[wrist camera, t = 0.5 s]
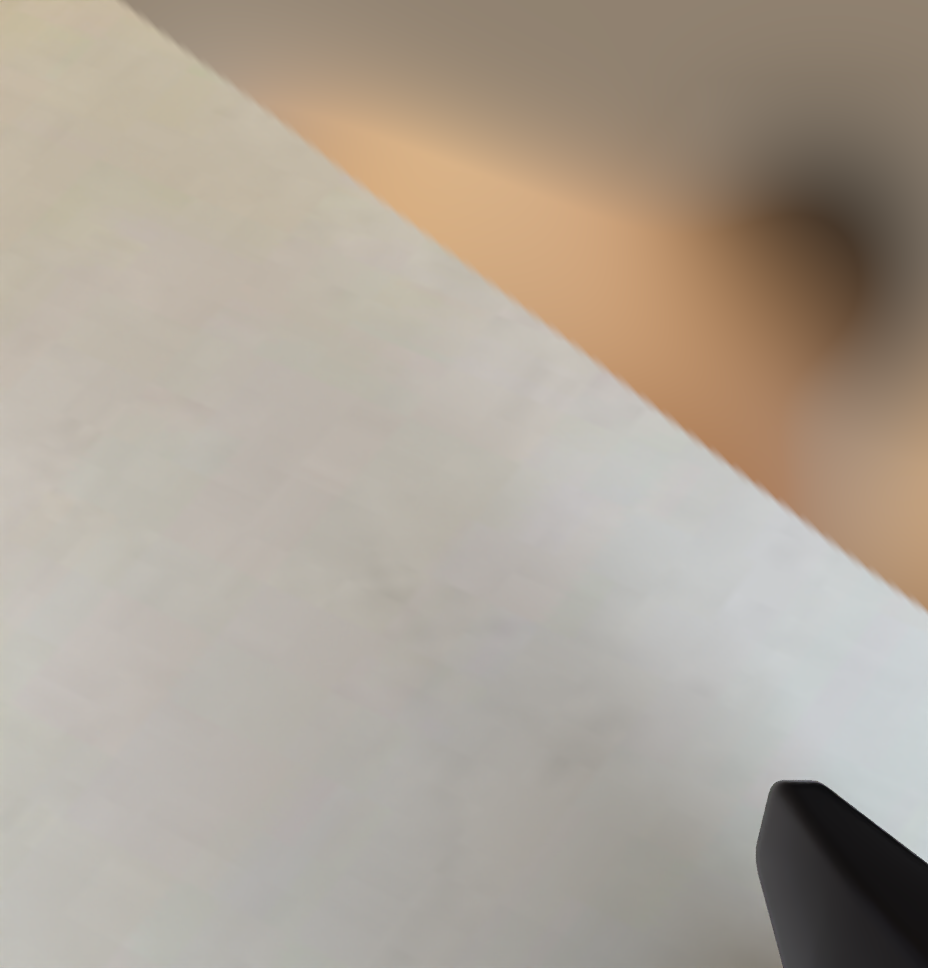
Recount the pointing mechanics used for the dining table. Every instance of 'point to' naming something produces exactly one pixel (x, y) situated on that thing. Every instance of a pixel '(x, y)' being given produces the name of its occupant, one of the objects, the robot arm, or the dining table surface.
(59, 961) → the dining table surface
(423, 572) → the dining table surface
